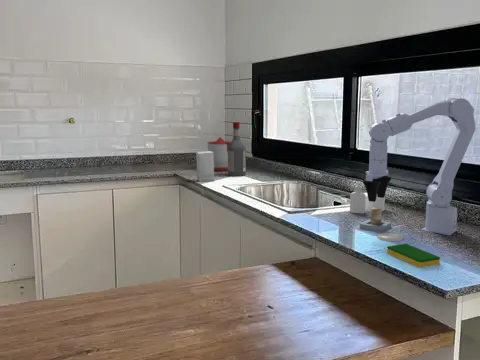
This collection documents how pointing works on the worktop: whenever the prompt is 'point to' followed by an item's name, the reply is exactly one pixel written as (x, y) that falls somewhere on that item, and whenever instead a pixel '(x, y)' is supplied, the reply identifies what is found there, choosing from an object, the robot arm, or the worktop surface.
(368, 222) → the pocket block
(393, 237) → the coaster
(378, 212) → the dowel
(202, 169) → the skincare box
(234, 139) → the liquor
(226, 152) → the citrus juicer
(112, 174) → the worktop surface
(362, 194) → the eye dropper bottle
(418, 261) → the dish sponge
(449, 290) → the worktop surface
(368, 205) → the base with upright slab
